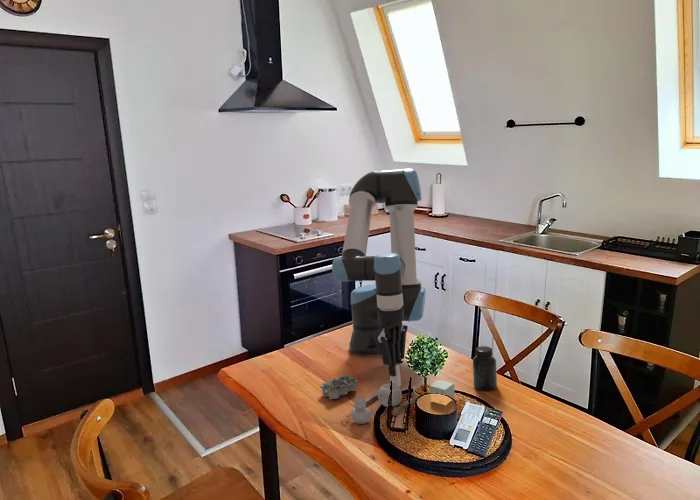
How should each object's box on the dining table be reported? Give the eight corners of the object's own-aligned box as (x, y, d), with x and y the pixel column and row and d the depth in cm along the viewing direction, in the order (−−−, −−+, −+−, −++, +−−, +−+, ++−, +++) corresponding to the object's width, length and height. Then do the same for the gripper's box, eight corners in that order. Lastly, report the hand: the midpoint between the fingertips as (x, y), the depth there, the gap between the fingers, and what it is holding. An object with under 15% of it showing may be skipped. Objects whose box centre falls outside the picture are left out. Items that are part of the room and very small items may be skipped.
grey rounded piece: (350, 427, 133) (348, 399, 131) (352, 415, 139) (350, 388, 138) (371, 427, 132) (368, 398, 131) (372, 415, 138) (370, 388, 137)
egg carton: (332, 401, 147) (330, 387, 147) (319, 395, 154) (317, 382, 153) (361, 389, 153) (359, 376, 153) (347, 383, 159) (345, 371, 159)
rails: (383, 393, 152) (382, 389, 152) (415, 402, 144) (414, 398, 144) (362, 405, 145) (362, 401, 144) (394, 416, 137) (394, 412, 137)
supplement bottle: (488, 380, 155) (487, 343, 153) (501, 388, 149) (500, 350, 147) (469, 384, 153) (467, 347, 152) (481, 393, 147) (480, 354, 145)
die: (388, 398, 148) (387, 382, 148) (402, 402, 145) (401, 385, 144) (378, 404, 145) (377, 388, 144) (392, 408, 141) (391, 392, 141)
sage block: (439, 395, 147) (438, 379, 147) (454, 399, 144) (453, 383, 143) (430, 402, 144) (429, 385, 143) (445, 406, 140) (445, 389, 140)
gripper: (392, 300, 150) (398, 374, 154) (366, 311, 141) (372, 390, 144) (413, 303, 145) (418, 379, 149) (387, 314, 136) (393, 396, 139)
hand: (395, 384), depth 146 cm, fingers closed
